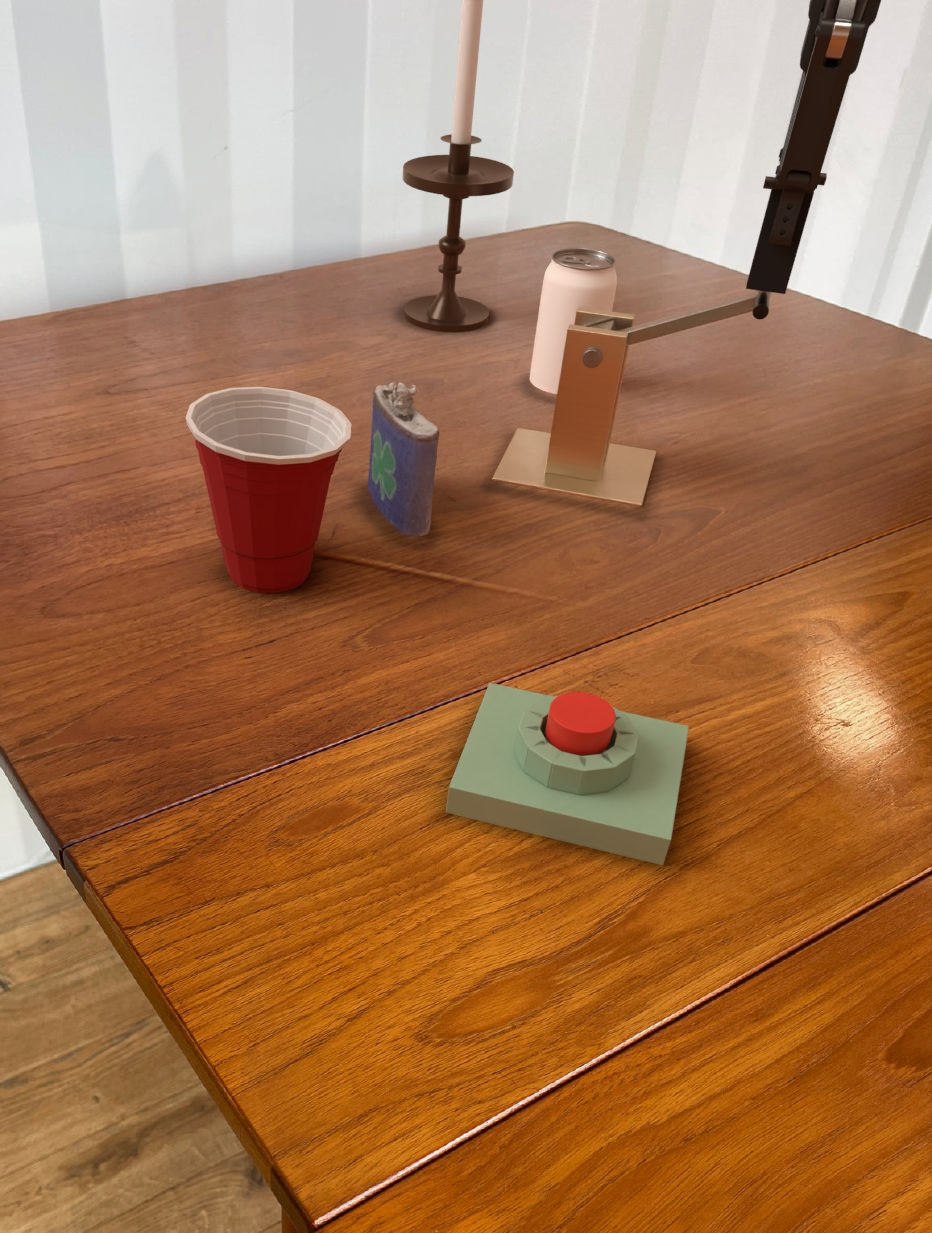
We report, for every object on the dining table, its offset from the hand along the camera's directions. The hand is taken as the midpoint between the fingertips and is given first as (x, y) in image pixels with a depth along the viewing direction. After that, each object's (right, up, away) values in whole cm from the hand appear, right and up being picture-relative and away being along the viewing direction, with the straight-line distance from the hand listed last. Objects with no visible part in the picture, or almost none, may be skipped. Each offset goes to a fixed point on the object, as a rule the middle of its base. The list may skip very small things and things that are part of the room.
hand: (765, 287), depth 79 cm
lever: (-5, -2, +4) cm, 7 cm away
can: (-10, +2, +27) cm, 28 cm away
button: (-17, -33, -17) cm, 40 cm away
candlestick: (-19, +14, +40) cm, 46 cm away
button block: (-17, -35, -15) cm, 42 cm away
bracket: (-11, -10, +14) cm, 20 cm away
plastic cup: (-35, -20, +1) cm, 41 cm away
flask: (-26, -15, +8) cm, 31 cm away
